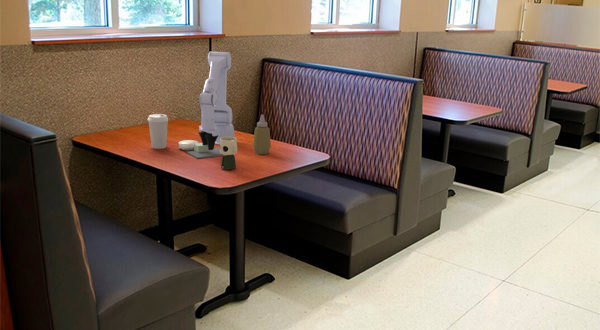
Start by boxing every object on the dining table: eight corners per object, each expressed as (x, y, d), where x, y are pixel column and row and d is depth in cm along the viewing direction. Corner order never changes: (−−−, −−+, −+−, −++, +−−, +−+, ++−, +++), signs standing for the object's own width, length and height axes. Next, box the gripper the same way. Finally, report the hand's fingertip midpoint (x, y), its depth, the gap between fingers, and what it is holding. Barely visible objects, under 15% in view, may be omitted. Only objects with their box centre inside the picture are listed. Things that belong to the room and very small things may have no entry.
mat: (218, 149, 280) (218, 147, 280) (229, 154, 272) (229, 153, 271) (186, 153, 272) (186, 151, 271) (197, 158, 263) (197, 157, 263)
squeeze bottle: (273, 152, 278) (273, 114, 273) (266, 156, 270) (267, 117, 265) (257, 150, 280) (257, 112, 275) (250, 154, 273) (250, 115, 268)
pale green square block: (204, 148, 277) (204, 142, 276) (208, 151, 273) (208, 145, 272) (193, 149, 275) (193, 143, 274) (198, 152, 271) (198, 146, 270)
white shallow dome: (193, 145, 285) (193, 139, 284) (201, 149, 278) (201, 143, 277) (175, 147, 280) (175, 141, 280) (183, 151, 273) (183, 145, 272)
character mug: (213, 167, 251) (213, 137, 247) (227, 164, 256) (227, 134, 252) (229, 173, 244) (229, 142, 240) (243, 170, 248) (243, 139, 245)
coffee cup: (164, 150, 275) (163, 118, 271) (145, 148, 277) (143, 116, 273) (172, 145, 284) (171, 114, 280) (153, 143, 286) (152, 113, 282)
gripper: (192, 116, 271) (193, 146, 274) (206, 122, 259) (207, 153, 263) (207, 115, 275) (207, 144, 278) (221, 121, 263) (221, 151, 267)
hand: (208, 148), depth 271 cm, fingers open, 5 cm apart
